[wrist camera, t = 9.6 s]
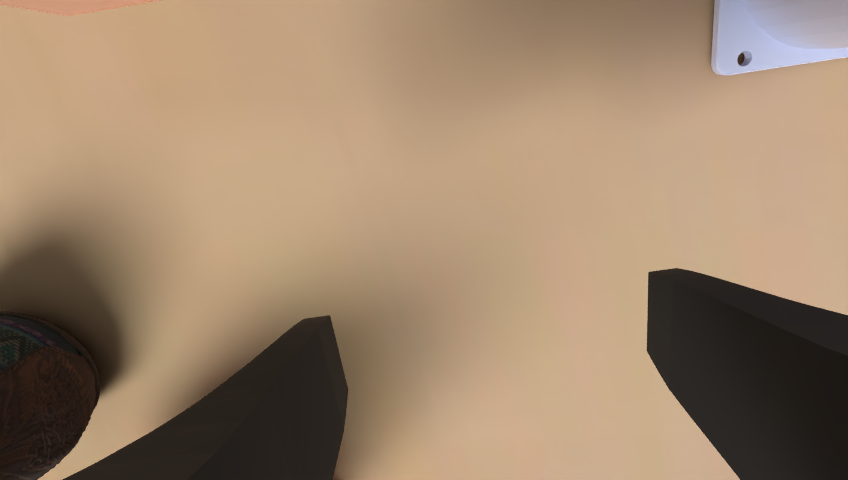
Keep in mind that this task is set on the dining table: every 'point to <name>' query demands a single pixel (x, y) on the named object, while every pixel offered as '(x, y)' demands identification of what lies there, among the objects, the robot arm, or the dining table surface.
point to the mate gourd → (41, 395)
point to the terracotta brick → (71, 5)
